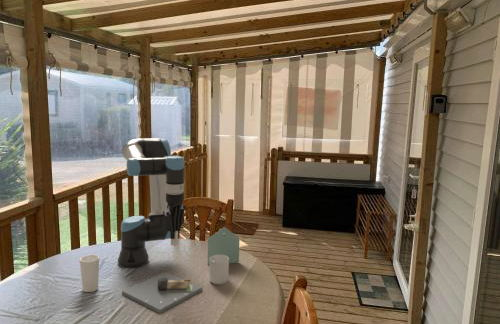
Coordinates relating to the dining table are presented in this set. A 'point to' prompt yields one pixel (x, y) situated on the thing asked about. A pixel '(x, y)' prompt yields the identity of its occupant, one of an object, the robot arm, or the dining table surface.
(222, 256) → the mug
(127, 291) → the dial board
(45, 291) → the dining table surface
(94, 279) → the cup
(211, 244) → the teal house-shaped block
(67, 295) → the dining table surface
